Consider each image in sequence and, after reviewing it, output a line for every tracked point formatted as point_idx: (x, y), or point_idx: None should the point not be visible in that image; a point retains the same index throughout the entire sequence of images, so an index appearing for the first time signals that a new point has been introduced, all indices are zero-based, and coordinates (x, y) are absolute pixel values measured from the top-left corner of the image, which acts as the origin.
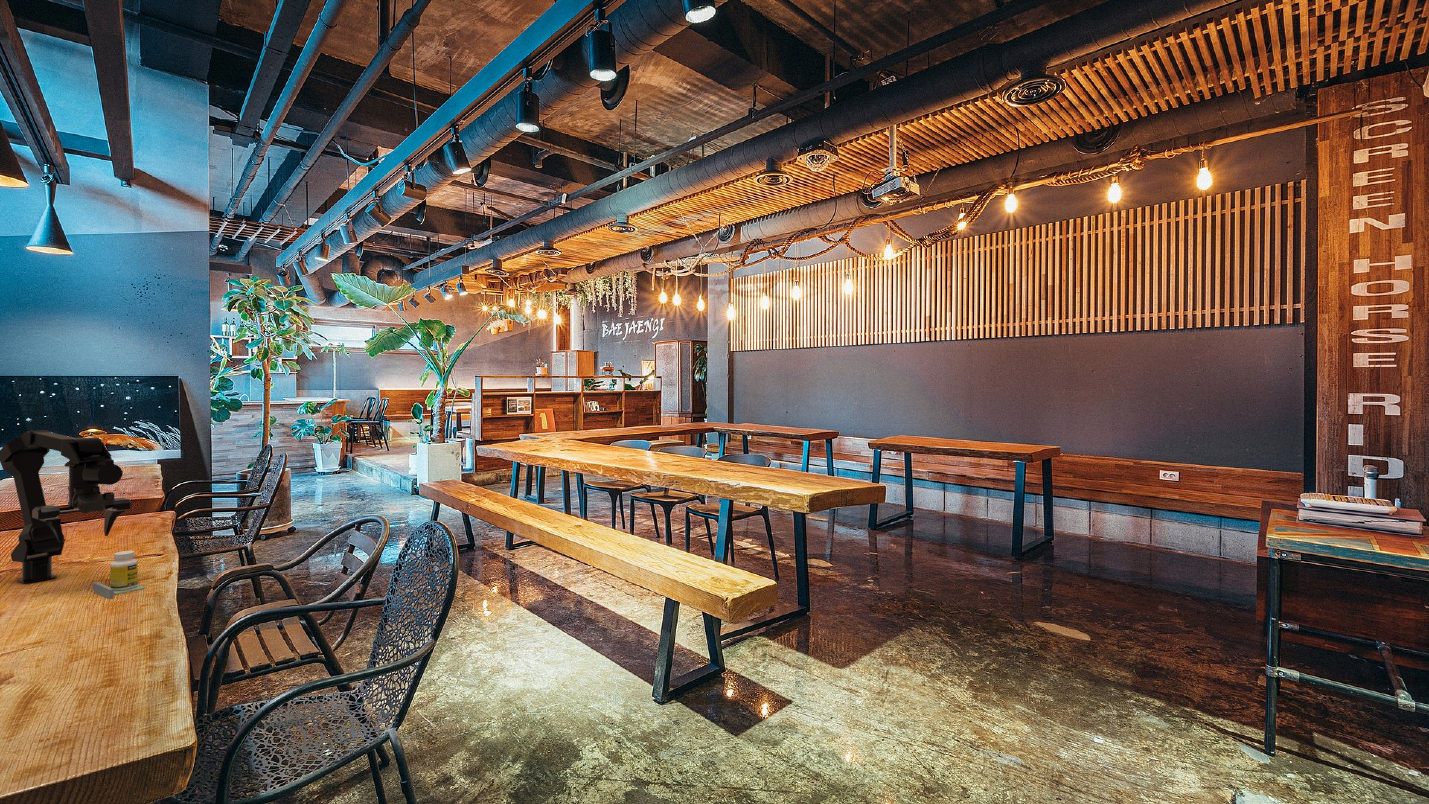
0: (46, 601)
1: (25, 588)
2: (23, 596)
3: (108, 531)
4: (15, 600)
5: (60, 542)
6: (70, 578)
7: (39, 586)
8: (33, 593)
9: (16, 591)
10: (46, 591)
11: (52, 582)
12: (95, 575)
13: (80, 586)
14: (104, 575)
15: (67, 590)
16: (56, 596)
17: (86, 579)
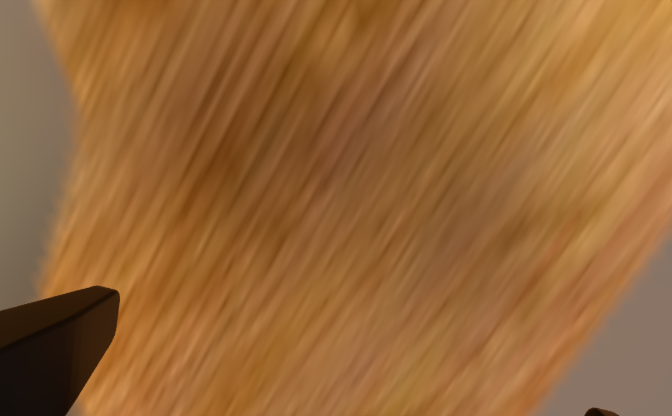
0: (653, 20)
1: (480, 413)
2: (593, 267)
3: (55, 303)
4: (662, 222)
5: (603, 411)
6: (292, 406)
7: (437, 390)
8: (539, 280)
9: (530, 396)
10: (495, 258)
11: (369, 409)
12: (209, 352)
13: (374, 190)
14: (189, 308)
15: (452, 169)
16: (558, 87)
17: (274, 313)
